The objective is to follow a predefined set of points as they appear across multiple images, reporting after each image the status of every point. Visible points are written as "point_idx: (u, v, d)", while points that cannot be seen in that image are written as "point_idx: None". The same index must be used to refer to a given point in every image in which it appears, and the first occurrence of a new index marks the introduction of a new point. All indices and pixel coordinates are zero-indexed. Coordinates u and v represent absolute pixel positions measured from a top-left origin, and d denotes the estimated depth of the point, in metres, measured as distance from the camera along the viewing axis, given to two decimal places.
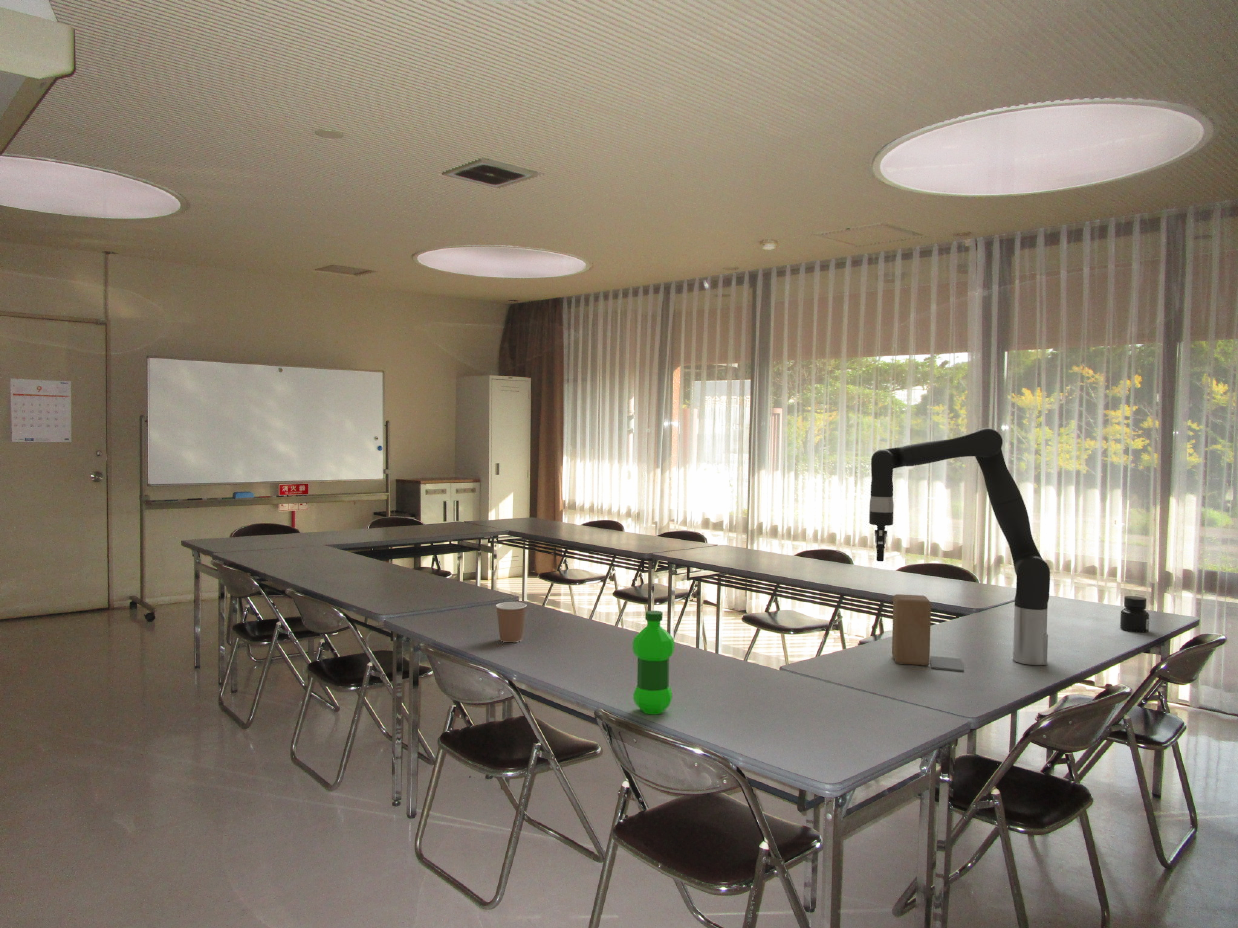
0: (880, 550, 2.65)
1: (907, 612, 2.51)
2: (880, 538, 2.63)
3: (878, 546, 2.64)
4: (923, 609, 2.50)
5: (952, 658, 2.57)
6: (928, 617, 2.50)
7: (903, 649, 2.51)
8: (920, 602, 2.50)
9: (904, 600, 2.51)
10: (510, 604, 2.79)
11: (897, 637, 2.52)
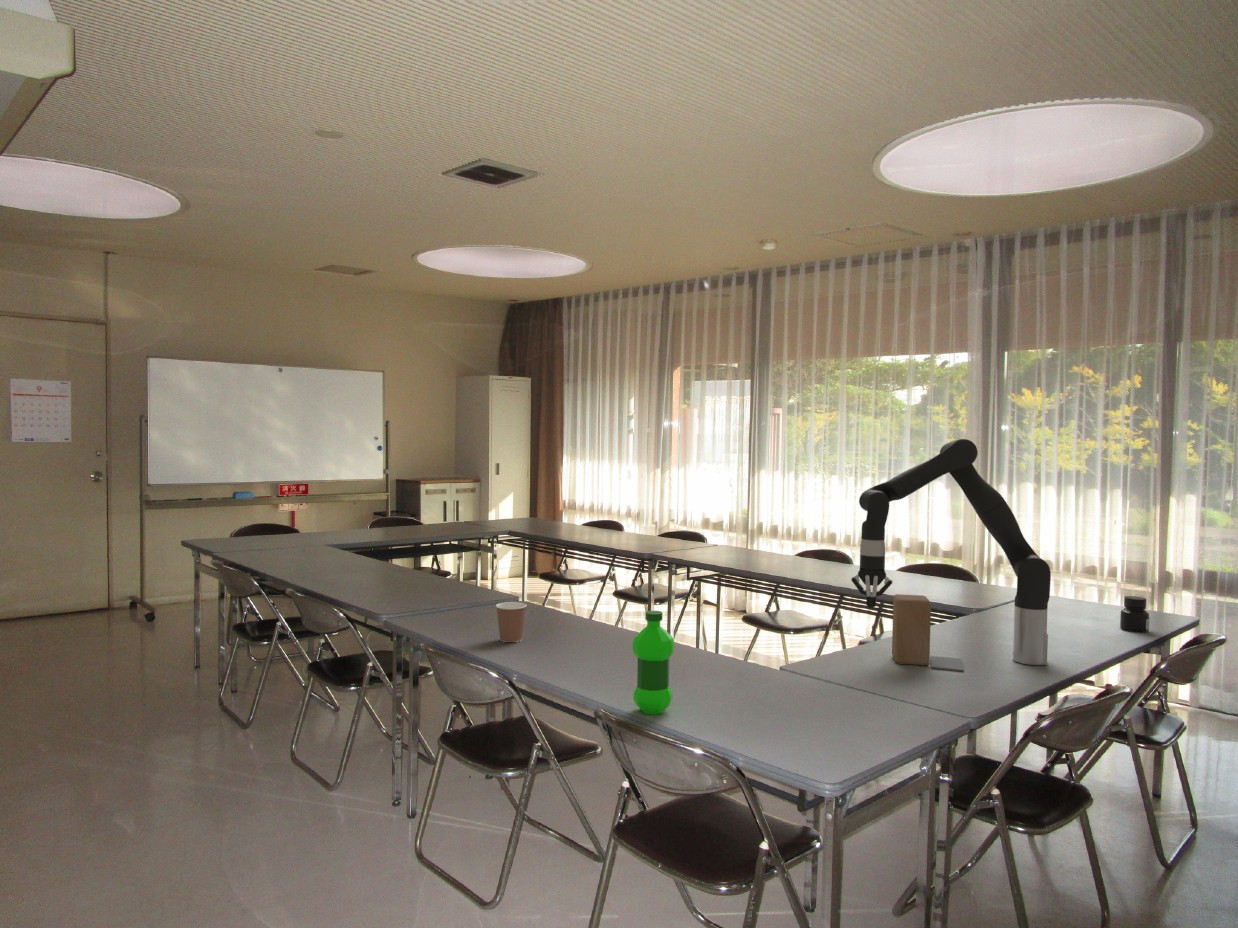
0: None
1: (907, 612, 2.51)
2: None
3: None
4: (923, 609, 2.50)
5: (952, 658, 2.57)
6: (928, 617, 2.50)
7: (903, 649, 2.51)
8: (920, 602, 2.50)
9: (904, 600, 2.51)
10: (510, 604, 2.79)
11: (897, 637, 2.52)
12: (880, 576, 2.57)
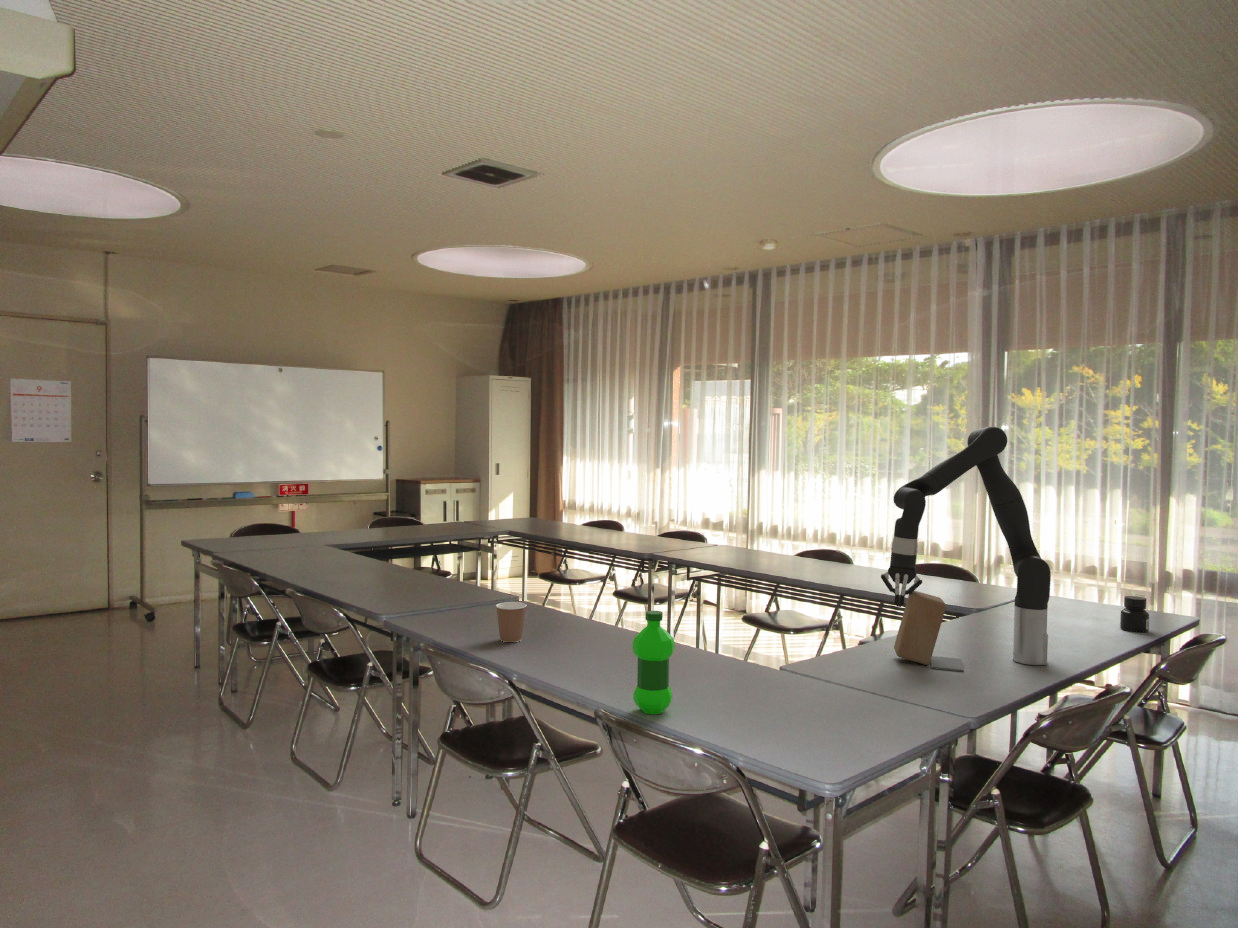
0: (904, 595, 2.56)
1: (921, 609, 2.50)
2: (916, 587, 2.55)
3: None
4: (937, 610, 2.49)
5: (952, 658, 2.57)
6: (940, 619, 2.49)
7: (907, 644, 2.51)
8: (936, 602, 2.49)
9: (920, 597, 2.50)
10: (510, 604, 2.79)
11: (904, 631, 2.51)
12: (910, 575, 2.55)
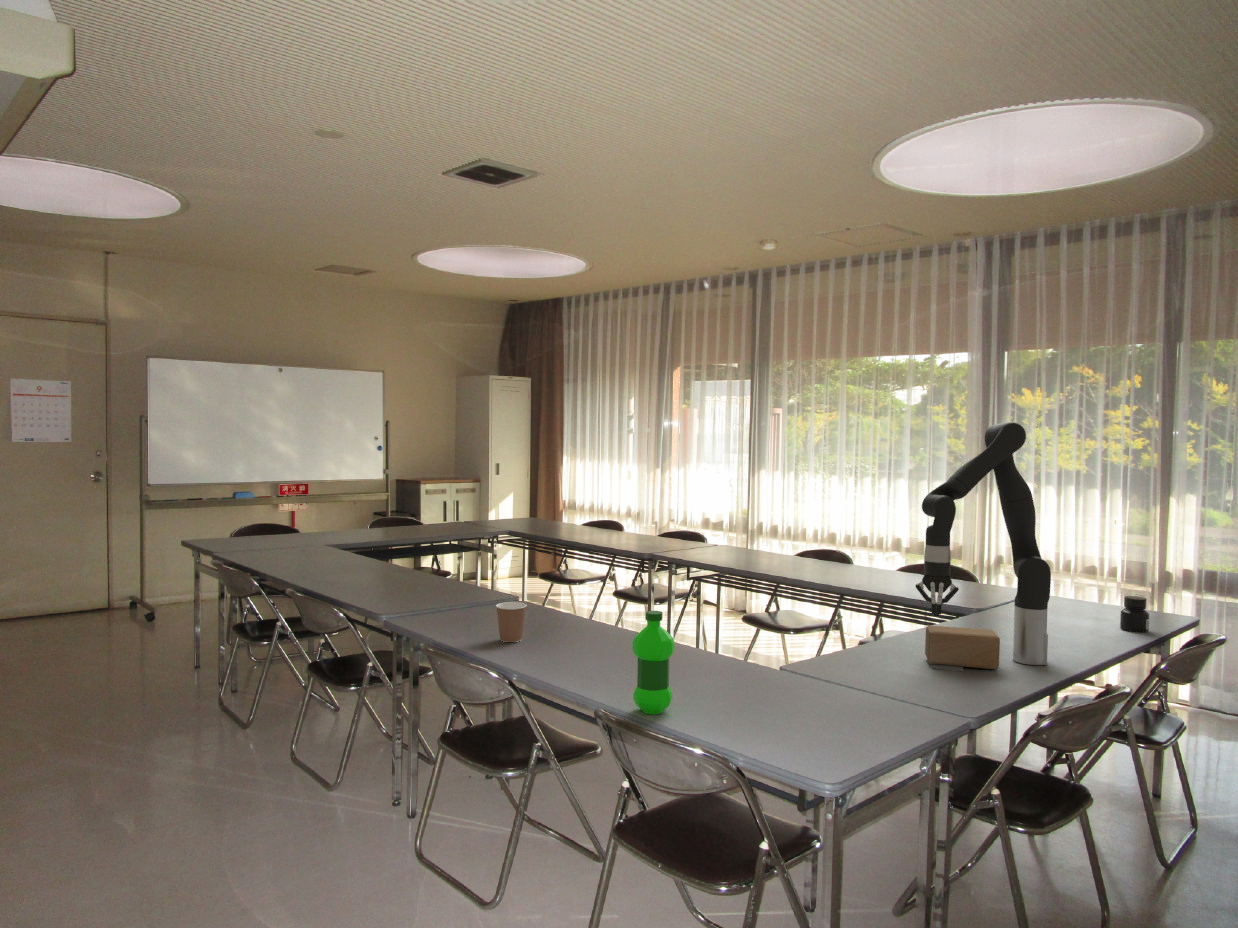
0: (941, 604, 2.52)
1: (986, 646, 2.45)
2: None
3: None
4: (990, 661, 2.45)
5: None
6: (981, 666, 2.46)
7: (945, 640, 2.48)
8: (997, 659, 2.45)
9: (999, 643, 2.45)
10: (510, 604, 2.79)
11: (958, 635, 2.48)
12: (946, 583, 2.50)
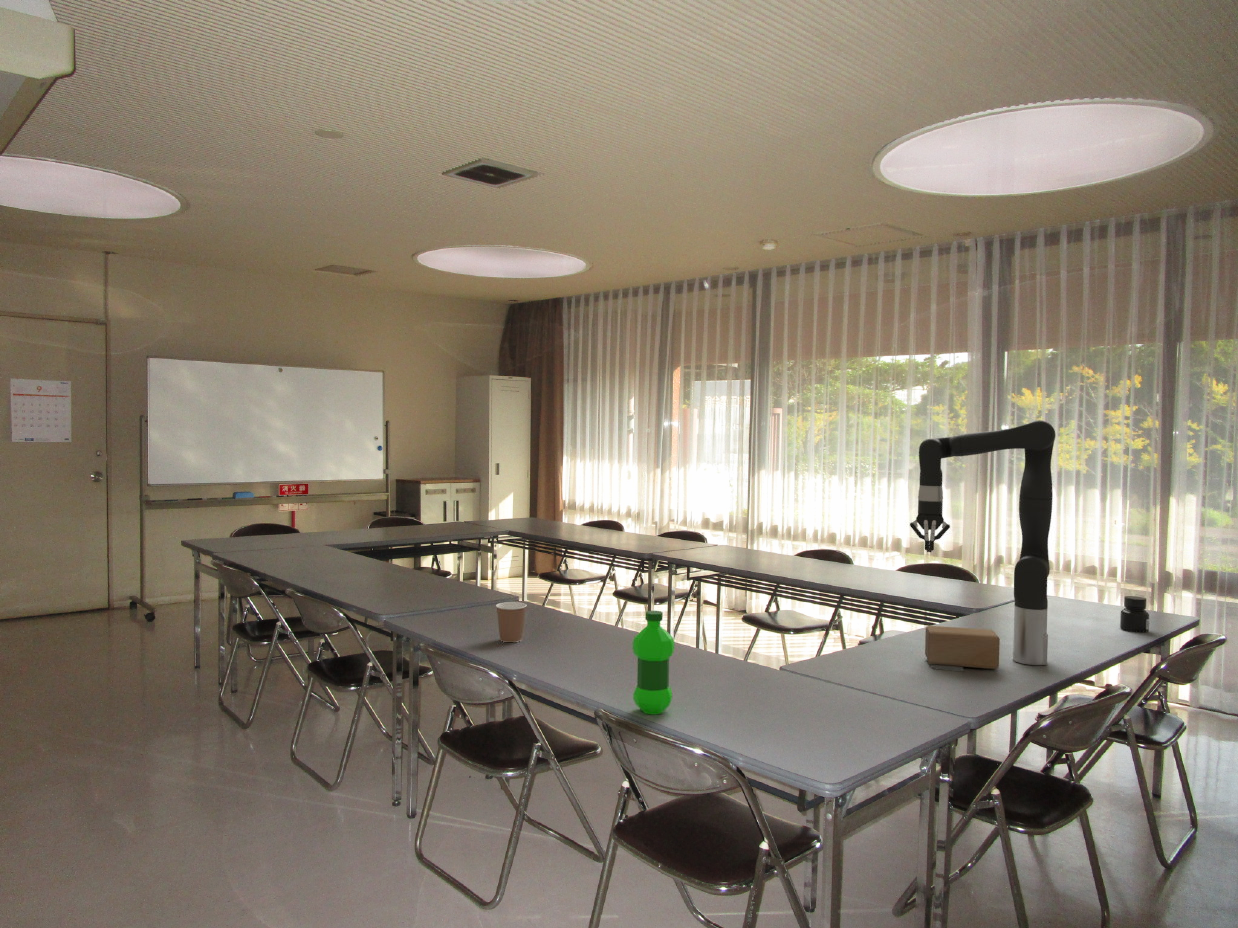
0: None
1: (986, 646, 2.45)
2: None
3: None
4: (990, 661, 2.45)
5: None
6: (981, 665, 2.46)
7: (945, 640, 2.48)
8: (997, 659, 2.45)
9: (998, 643, 2.45)
10: (510, 604, 2.79)
11: (957, 635, 2.48)
12: (938, 521, 2.68)
